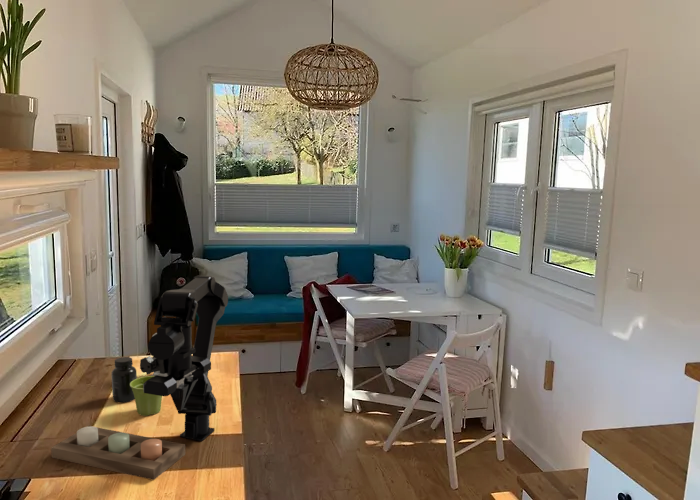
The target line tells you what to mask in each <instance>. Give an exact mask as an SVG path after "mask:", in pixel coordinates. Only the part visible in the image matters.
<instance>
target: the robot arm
mask: <svg viewBox="0 0 700 500" xmlns="http://www.w3.org/2000/svg"><path fill="white" fill-rule="evenodd" d="M228 303H229V295H228V293H227V290H226V287H224V286H223V285H222V284H220V283H218V281H216V279H215V277H213V276H211V275H195V276H193V278H192V280H191V281H189V282H188V283H186V284H185V285H184V286H182V287H181V288H179V289H170V290H166V291H164V292H163V294H162V295H161V296H160V298H159V300H158V304H157V309H156V314H155V316H154V322H153V325H154V326H159V327H157V329H156V333H157V334H155V333H154V334H155V335H154V334H153V335H154V336H153V335H152V336H153V337H152V336H151V337H150V339H149V341H148V344H147V349H148V351H149V354H150V356H149V355H148V356H146V357H142V358H141V359H140V362H139V369H140V371H141V373H146V376H149V375H152V374H153V373H154V372H156V371H160V373H161V374H165V373H167V375H168V376H166V377H164V376H158V375H156V376H154V377H152V378H150V379H148V380H147V381H146V382H145V383H144V384H143V392H144V393H146V394H152V395H158V396H162V397H168V396H171V399H172V401H173V404H174V407H175V410H176V411H177V414H179V415H180V414H181V415H184V431H183V432H181V433H180V434H179V437H180V438H183V439H189V440H193V441H199V442H202V441H204V440H205V439H206V438H207V437H209V436H210V435H211V434H212V433H214V432H215V428H214V427H210V417H211V416H212V414H216V412H217V398H216V397H215V395H214V393H213V386H212V384H211V381H210V379H209V377H208V376H209V371H211V370H212V361H211V356H212V352H213V351H212V350H213V344H214V339H215V333H216V327H217V326H216V325H217V323H218V321H219V320H220V319H221V318H222V317H223V316H224V314H225V309H226V307H227V306H228ZM196 314H197V317H198V323H197V328H196V332H195V338H194V345H192V344H193V343H192V335H193V334H192V322H194V321H195V318H196Z"/></svg>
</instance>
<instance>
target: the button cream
mask: <svg viewBox="0 0 700 500" xmlns="http://www.w3.org/2000/svg"><path fill="white" fill-rule="evenodd" d="M88 426H89V427H88ZM88 426H84V427H82V428H79V429H78V430H76V433H77V445H80V446H84V447H90V446H92V445H94V444H95V443H97V442H98V428H99V427H98V428H97V426H92V425H88Z"/></svg>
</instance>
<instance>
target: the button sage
mask: <svg viewBox="0 0 700 500" xmlns="http://www.w3.org/2000/svg"><path fill="white" fill-rule="evenodd" d="M120 432H121V433H115V434H112V435H110V436H109V437H108V448H109V452H113V453H118V454H122V453H123V452H125V451H126V450H128V449H129V448H130V444H129V434H130V433H129V432H124V433H123V431H120ZM128 433H129V434H128Z"/></svg>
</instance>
